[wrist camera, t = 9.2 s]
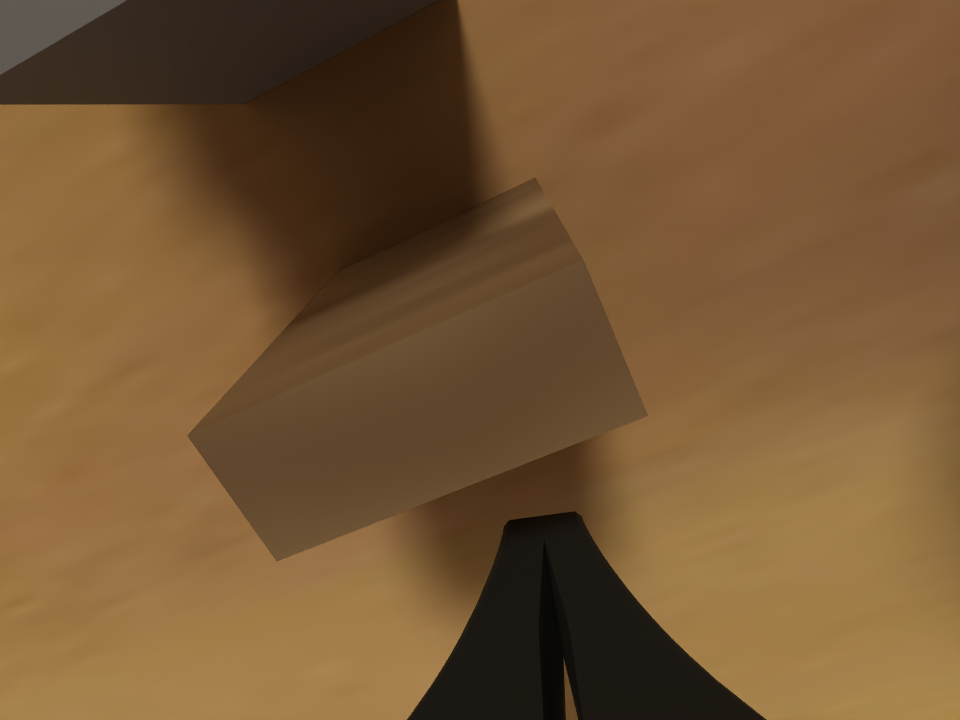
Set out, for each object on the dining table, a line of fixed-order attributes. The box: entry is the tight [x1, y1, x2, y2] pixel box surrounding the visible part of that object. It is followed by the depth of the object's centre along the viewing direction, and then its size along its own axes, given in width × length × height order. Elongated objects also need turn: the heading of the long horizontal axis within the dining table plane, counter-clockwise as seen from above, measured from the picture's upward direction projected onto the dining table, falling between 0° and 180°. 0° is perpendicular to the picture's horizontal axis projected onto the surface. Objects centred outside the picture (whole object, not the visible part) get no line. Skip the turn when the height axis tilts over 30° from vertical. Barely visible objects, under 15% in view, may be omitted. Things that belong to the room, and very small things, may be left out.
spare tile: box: [187, 178, 648, 561], centre depth 11 cm, size 2×5×8 cm, turn 115°
